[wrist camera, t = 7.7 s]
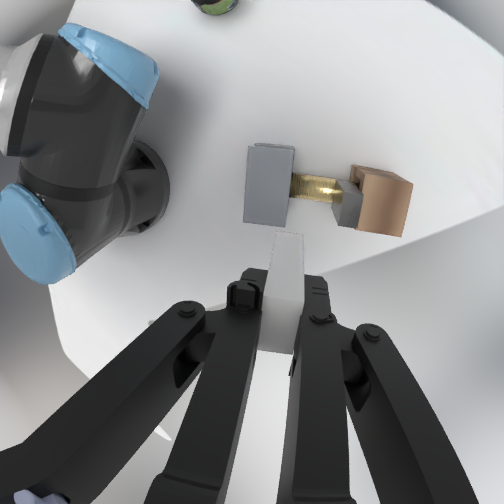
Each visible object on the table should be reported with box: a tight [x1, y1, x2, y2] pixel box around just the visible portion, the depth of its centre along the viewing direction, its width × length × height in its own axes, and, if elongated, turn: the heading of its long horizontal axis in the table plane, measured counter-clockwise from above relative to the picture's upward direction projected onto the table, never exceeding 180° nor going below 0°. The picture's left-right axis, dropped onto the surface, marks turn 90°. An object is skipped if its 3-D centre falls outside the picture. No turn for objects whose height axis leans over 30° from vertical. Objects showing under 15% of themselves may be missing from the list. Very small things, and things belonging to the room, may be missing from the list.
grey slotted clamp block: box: [243, 143, 294, 227], centre depth 35 cm, size 5×9×7 cm, turn 176°
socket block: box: [350, 165, 413, 237], centre depth 33 cm, size 6×6×8 cm
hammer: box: [289, 173, 364, 228], centre depth 31 cm, size 12×4×10 cm, turn 86°
